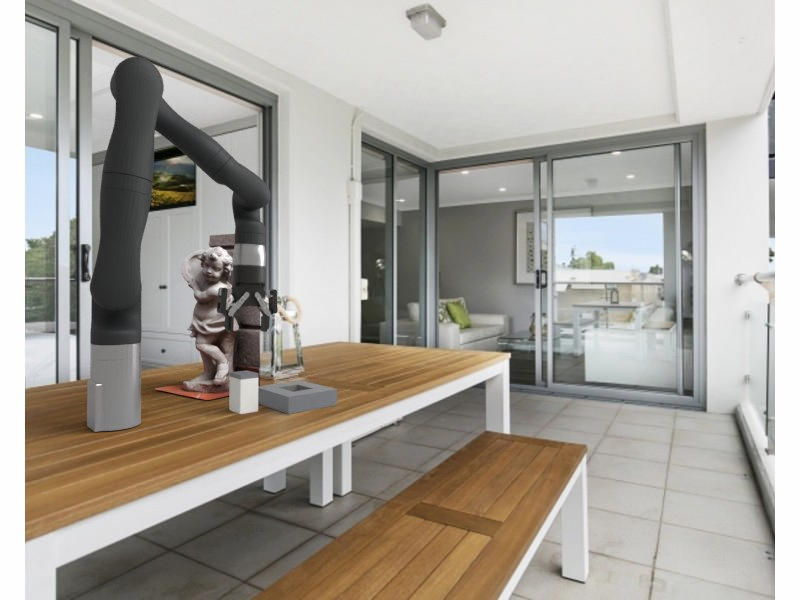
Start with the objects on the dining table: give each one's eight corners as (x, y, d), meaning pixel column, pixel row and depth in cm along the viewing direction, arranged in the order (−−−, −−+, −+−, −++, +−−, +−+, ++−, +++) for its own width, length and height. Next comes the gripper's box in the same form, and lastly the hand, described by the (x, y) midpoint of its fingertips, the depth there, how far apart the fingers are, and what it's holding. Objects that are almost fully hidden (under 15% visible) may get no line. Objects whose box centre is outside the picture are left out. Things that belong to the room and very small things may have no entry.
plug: (240, 414, 116) (240, 375, 116) (229, 410, 120) (229, 372, 120) (258, 411, 119) (258, 373, 119) (246, 407, 123) (247, 370, 123)
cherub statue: (154, 390, 140) (155, 229, 139) (210, 381, 156) (211, 235, 155) (207, 401, 128) (208, 224, 127) (262, 389, 144) (264, 232, 143)
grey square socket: (288, 414, 117) (288, 396, 117) (254, 402, 128) (254, 386, 128) (336, 405, 126) (337, 389, 126) (300, 394, 138) (301, 380, 138)
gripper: (226, 261, 113) (224, 334, 113) (283, 265, 122) (281, 332, 123) (213, 262, 119) (211, 331, 119) (269, 266, 128) (267, 330, 128)
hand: (247, 331), depth 121 cm, fingers open, 8 cm apart
